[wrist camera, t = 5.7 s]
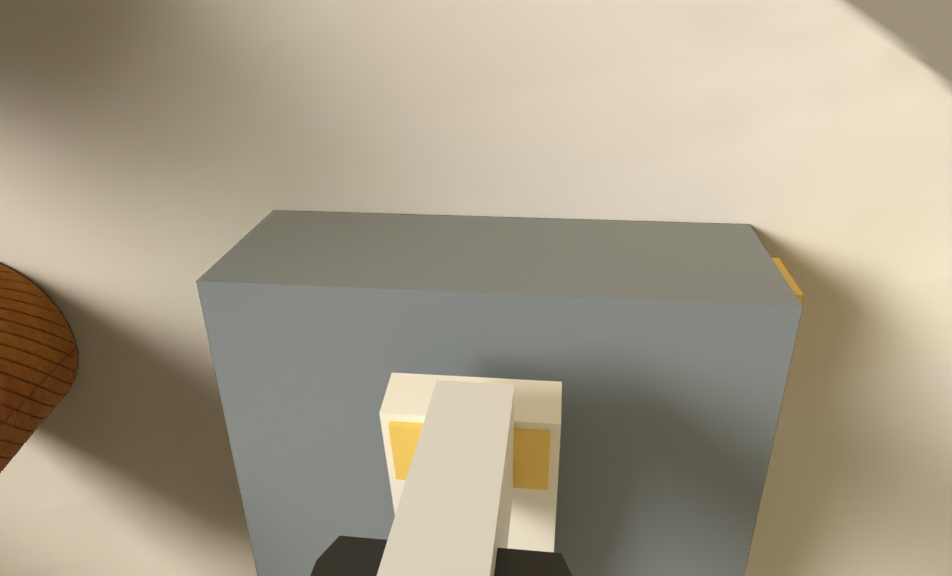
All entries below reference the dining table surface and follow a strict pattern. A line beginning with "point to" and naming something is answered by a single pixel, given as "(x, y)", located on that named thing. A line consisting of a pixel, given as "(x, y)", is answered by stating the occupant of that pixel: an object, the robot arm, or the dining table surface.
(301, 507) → the console
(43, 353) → the disposable coffee cup
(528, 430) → the rocker
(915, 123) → the dining table surface
